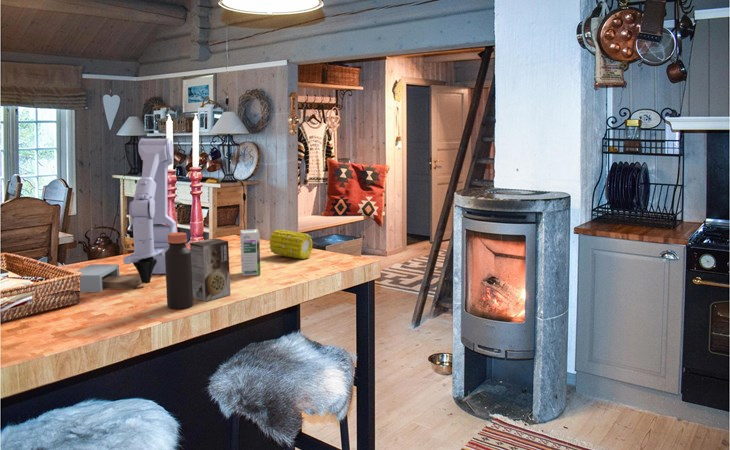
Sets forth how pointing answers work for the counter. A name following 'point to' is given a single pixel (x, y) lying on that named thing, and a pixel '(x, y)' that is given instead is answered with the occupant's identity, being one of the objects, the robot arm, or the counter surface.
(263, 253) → the counter surface
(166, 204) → the robot arm
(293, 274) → the counter surface
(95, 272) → the shelf
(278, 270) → the counter surface
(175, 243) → the bottle
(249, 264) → the syrup box
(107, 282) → the board
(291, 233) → the food
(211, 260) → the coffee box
